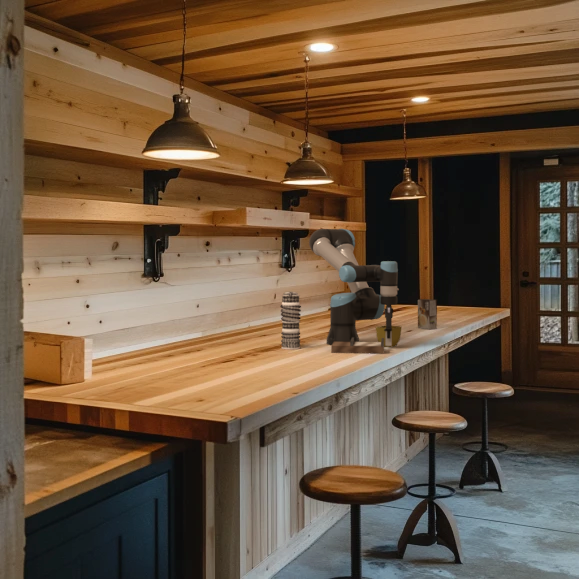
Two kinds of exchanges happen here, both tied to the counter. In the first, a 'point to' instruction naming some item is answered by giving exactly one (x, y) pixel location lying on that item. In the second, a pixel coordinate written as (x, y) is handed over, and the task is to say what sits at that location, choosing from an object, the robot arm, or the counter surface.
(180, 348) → the counter surface
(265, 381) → the counter surface
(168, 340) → the counter surface
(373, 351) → the dock
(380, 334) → the flower pot
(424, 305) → the coffee box
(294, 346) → the decorative candle
